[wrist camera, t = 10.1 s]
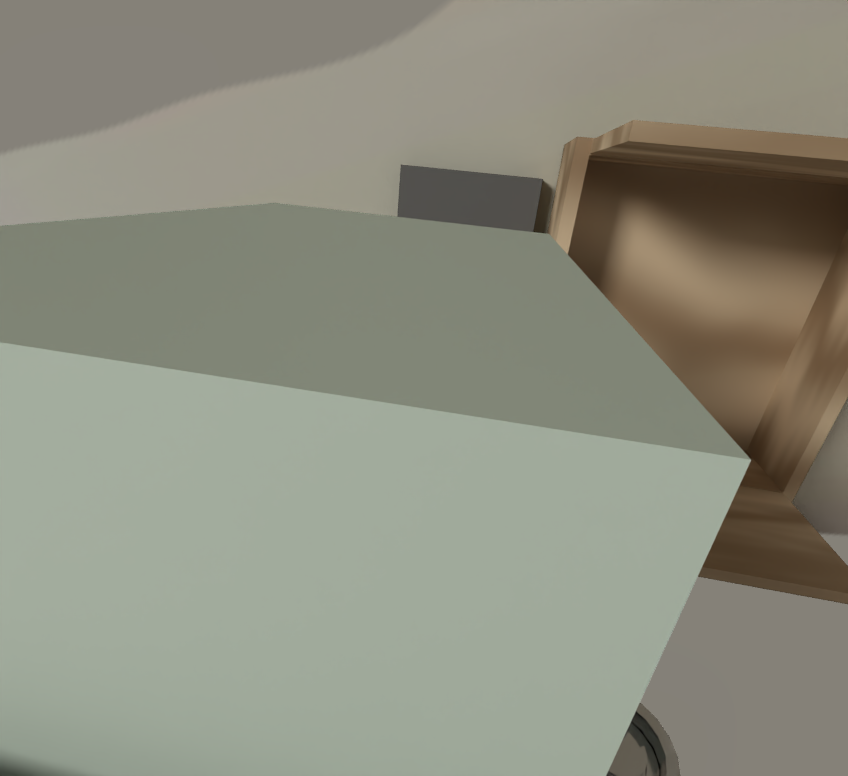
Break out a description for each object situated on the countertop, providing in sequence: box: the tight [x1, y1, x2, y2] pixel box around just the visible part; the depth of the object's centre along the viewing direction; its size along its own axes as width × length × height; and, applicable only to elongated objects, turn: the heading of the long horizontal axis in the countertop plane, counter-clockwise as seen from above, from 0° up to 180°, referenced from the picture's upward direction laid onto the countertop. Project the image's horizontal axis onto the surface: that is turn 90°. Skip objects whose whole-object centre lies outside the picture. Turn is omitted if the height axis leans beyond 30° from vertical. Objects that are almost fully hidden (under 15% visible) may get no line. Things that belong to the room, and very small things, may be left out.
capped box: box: [0, 203, 751, 776], centre depth 8 cm, size 10×6×8 cm, turn 175°
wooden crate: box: [547, 120, 848, 604], centre depth 20 cm, size 15×14×11 cm
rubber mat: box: [398, 165, 543, 232], centre depth 26 cm, size 12×7×1 cm, turn 175°
